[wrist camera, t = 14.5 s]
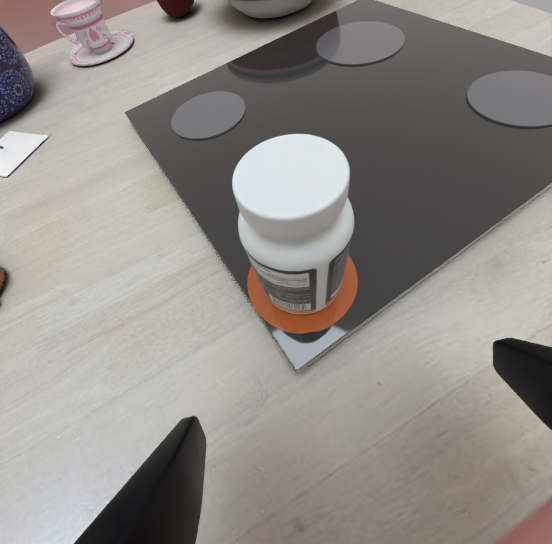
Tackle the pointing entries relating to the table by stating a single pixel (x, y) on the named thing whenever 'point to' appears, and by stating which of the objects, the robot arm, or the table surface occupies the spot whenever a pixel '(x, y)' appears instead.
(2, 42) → the planter
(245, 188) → the pill bottle
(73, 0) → the teacup
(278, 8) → the bowl
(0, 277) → the cookie
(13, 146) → the coaster
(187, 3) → the potato
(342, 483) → the table surface
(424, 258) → the hob
